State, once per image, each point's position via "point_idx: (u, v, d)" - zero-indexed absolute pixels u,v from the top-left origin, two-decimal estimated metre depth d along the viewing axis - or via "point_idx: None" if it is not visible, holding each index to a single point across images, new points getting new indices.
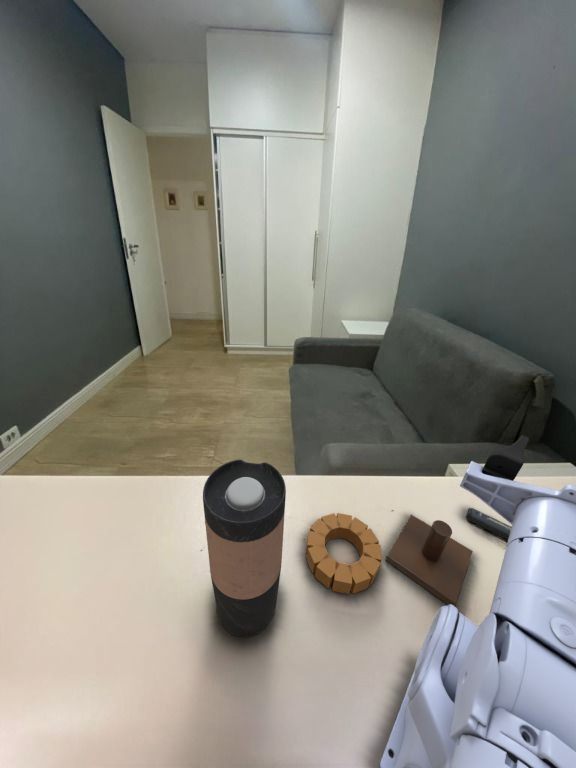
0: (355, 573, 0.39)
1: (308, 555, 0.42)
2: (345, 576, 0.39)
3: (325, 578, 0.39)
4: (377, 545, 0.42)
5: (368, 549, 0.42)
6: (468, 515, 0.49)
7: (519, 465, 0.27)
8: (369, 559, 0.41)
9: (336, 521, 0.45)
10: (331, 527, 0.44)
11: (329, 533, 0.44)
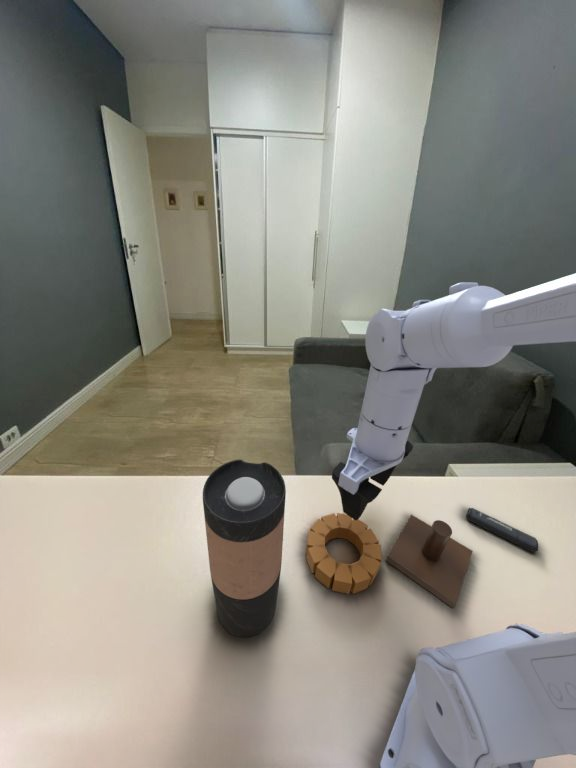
0: (355, 573, 0.39)
1: (308, 555, 0.42)
2: (345, 576, 0.39)
3: (325, 578, 0.39)
4: (377, 545, 0.42)
5: (368, 549, 0.42)
6: (468, 515, 0.49)
7: (341, 463, 0.37)
8: (369, 559, 0.41)
9: (336, 521, 0.45)
10: (331, 527, 0.44)
11: (329, 533, 0.44)
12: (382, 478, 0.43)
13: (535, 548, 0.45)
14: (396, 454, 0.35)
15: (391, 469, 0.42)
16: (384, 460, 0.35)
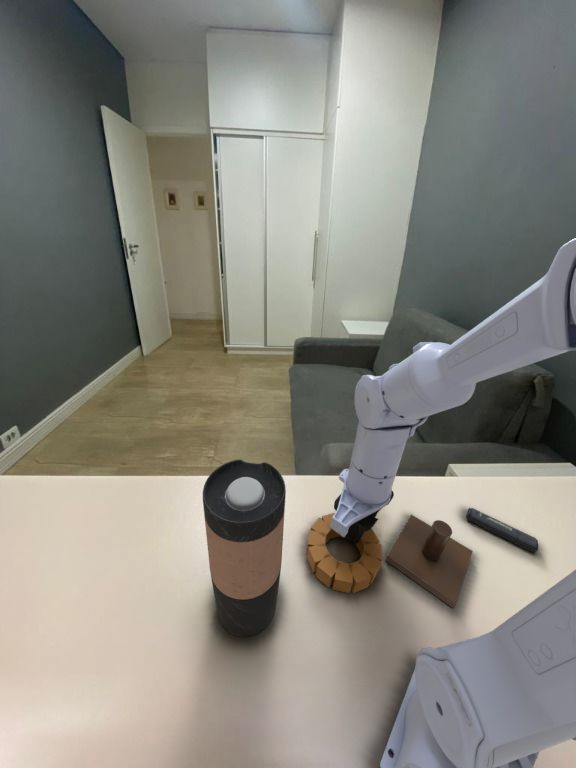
0: (356, 572, 0.39)
1: (309, 554, 0.42)
2: (346, 575, 0.39)
3: (326, 577, 0.39)
4: (377, 544, 0.43)
5: (368, 548, 0.42)
6: (468, 515, 0.49)
7: None
8: (369, 558, 0.41)
9: None
10: None
11: (330, 532, 0.44)
12: None
13: (535, 548, 0.45)
14: (383, 498, 0.38)
15: (373, 515, 0.44)
16: (372, 504, 0.38)
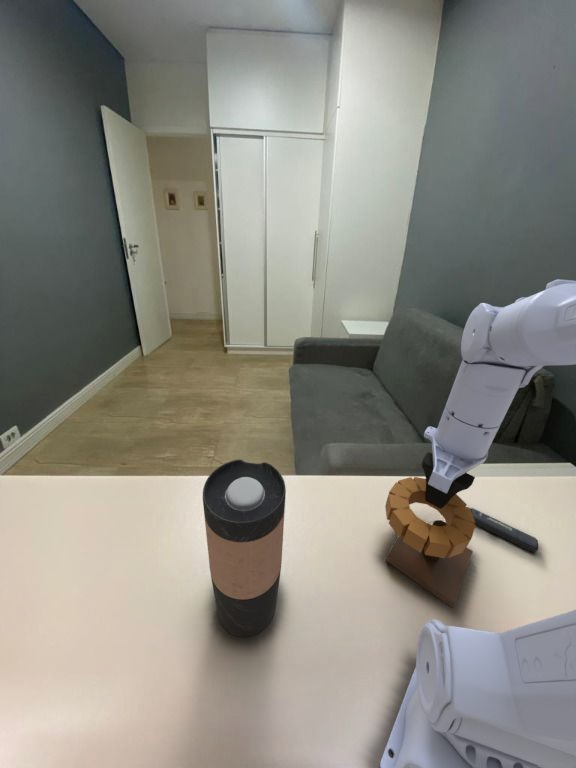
0: (451, 535, 0.35)
1: (393, 518, 0.38)
2: (441, 538, 0.35)
3: (418, 541, 0.36)
4: (466, 508, 0.39)
5: (458, 512, 0.38)
6: None
7: (429, 453, 0.38)
8: (462, 521, 0.37)
9: (415, 485, 0.42)
10: (411, 490, 0.41)
11: (410, 497, 0.41)
12: None
13: (535, 548, 0.45)
14: (483, 452, 0.35)
15: None
16: (471, 459, 0.35)
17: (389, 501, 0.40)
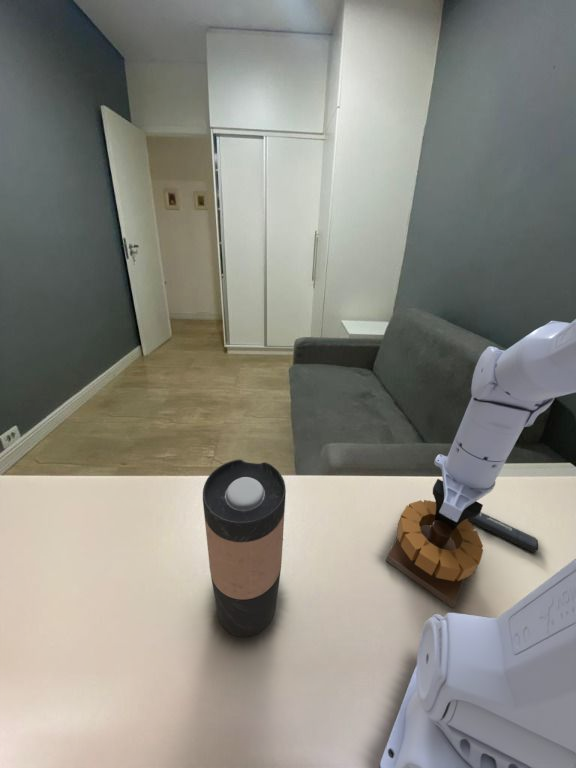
0: (460, 559, 0.38)
1: (405, 541, 0.40)
2: (451, 562, 0.37)
3: (429, 565, 0.38)
4: (474, 532, 0.41)
5: (466, 536, 0.41)
6: None
7: (439, 480, 0.41)
8: (470, 545, 0.39)
9: (425, 508, 0.44)
10: (422, 514, 0.43)
11: (421, 520, 0.43)
12: None
13: (535, 548, 0.45)
14: (491, 483, 0.37)
15: None
16: (480, 488, 0.37)
17: (401, 525, 0.42)
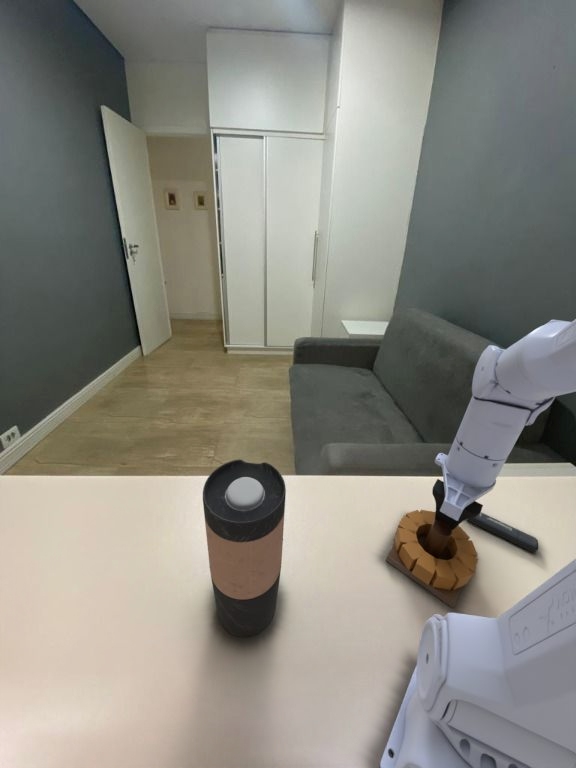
0: (456, 569, 0.39)
1: (403, 551, 0.41)
2: (447, 572, 0.39)
3: (426, 575, 0.39)
4: (469, 541, 0.42)
5: (461, 545, 0.42)
6: None
7: (439, 480, 0.41)
8: (465, 555, 0.41)
9: (422, 518, 0.45)
10: (418, 524, 0.44)
11: (417, 530, 0.44)
12: None
13: (535, 548, 0.45)
14: (492, 481, 0.37)
15: None
16: (480, 487, 0.37)
17: (398, 535, 0.43)
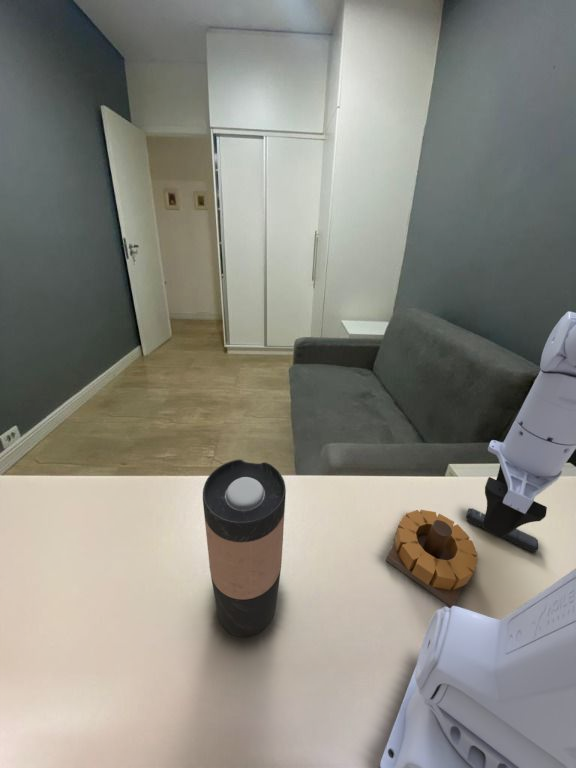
0: (456, 569, 0.39)
1: (403, 551, 0.41)
2: (447, 572, 0.39)
3: (426, 575, 0.39)
4: (469, 541, 0.42)
5: (461, 545, 0.42)
6: (468, 515, 0.49)
7: (491, 478, 0.35)
8: (465, 555, 0.41)
9: (422, 518, 0.45)
10: (418, 524, 0.44)
11: (417, 530, 0.44)
12: None
13: (535, 548, 0.45)
14: (559, 470, 0.33)
15: None
16: (547, 476, 0.33)
17: (398, 535, 0.43)
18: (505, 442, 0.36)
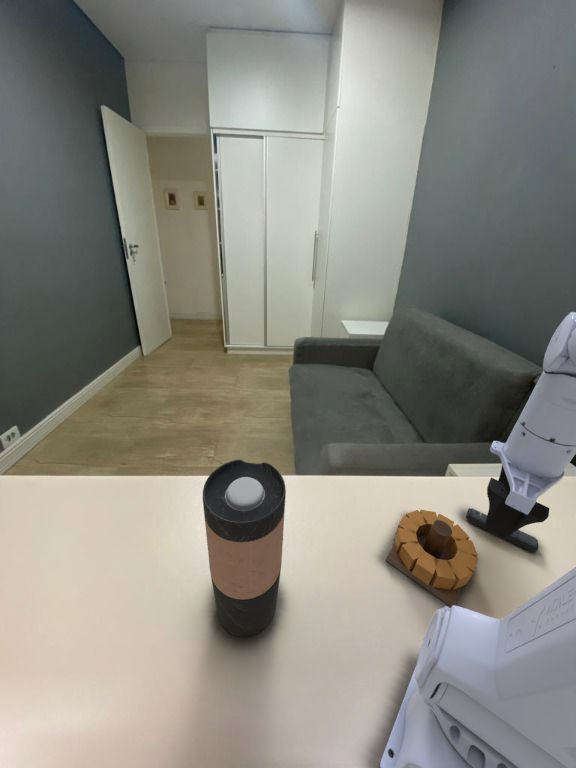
0: (456, 569, 0.39)
1: (403, 551, 0.41)
2: (447, 572, 0.39)
3: (426, 575, 0.39)
4: (469, 541, 0.42)
5: (461, 545, 0.42)
6: (468, 516, 0.49)
7: (493, 479, 0.35)
8: (465, 555, 0.41)
9: (422, 518, 0.45)
10: (418, 524, 0.44)
11: (417, 530, 0.44)
12: None
13: (535, 548, 0.45)
14: (562, 470, 0.33)
15: None
16: (549, 477, 0.33)
17: (398, 535, 0.43)
18: (507, 443, 0.36)
